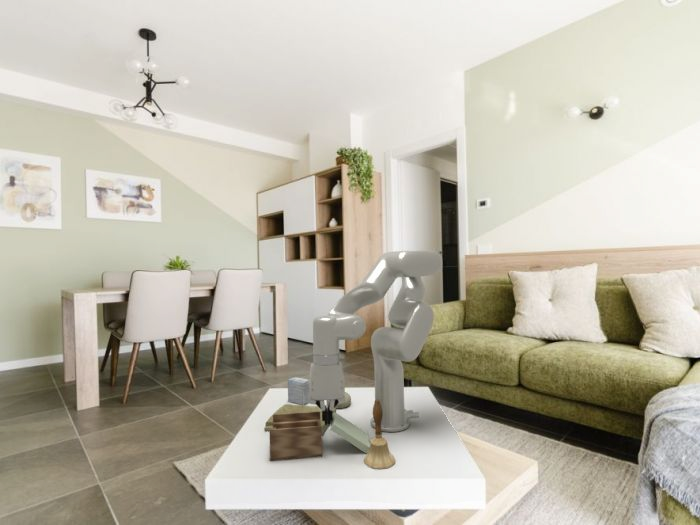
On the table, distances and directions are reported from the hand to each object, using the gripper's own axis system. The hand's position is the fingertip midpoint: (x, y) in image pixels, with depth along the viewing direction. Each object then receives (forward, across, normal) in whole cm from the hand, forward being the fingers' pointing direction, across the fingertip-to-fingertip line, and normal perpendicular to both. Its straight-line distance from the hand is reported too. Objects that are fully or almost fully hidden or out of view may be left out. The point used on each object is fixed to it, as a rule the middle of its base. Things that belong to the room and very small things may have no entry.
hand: (327, 422), depth 106 cm
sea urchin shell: (+7, -6, -32) cm, 34 cm away
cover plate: (+3, -6, +1) cm, 7 cm away
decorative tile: (+8, +8, -18) cm, 21 cm away
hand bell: (+7, -13, +10) cm, 18 cm away
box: (+7, +9, 0) cm, 11 cm away
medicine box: (+7, +9, -38) cm, 40 cm away
